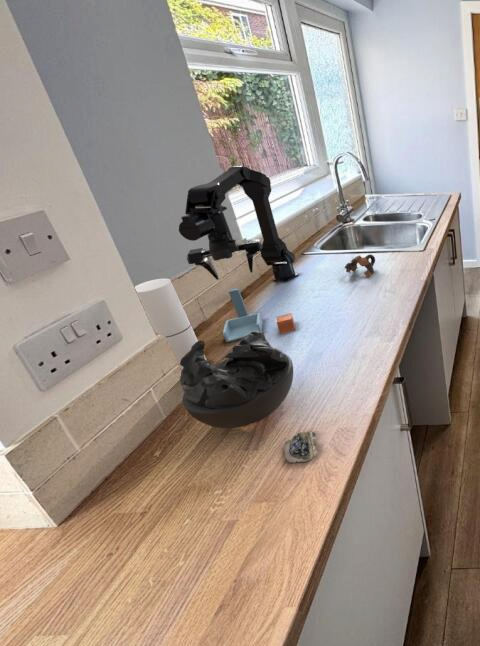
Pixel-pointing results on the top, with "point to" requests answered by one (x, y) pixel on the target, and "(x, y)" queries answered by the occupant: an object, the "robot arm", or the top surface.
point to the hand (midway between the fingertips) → (235, 275)
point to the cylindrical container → (167, 315)
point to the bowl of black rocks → (236, 383)
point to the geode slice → (300, 447)
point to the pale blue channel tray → (241, 320)
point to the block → (285, 323)
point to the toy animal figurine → (362, 264)
